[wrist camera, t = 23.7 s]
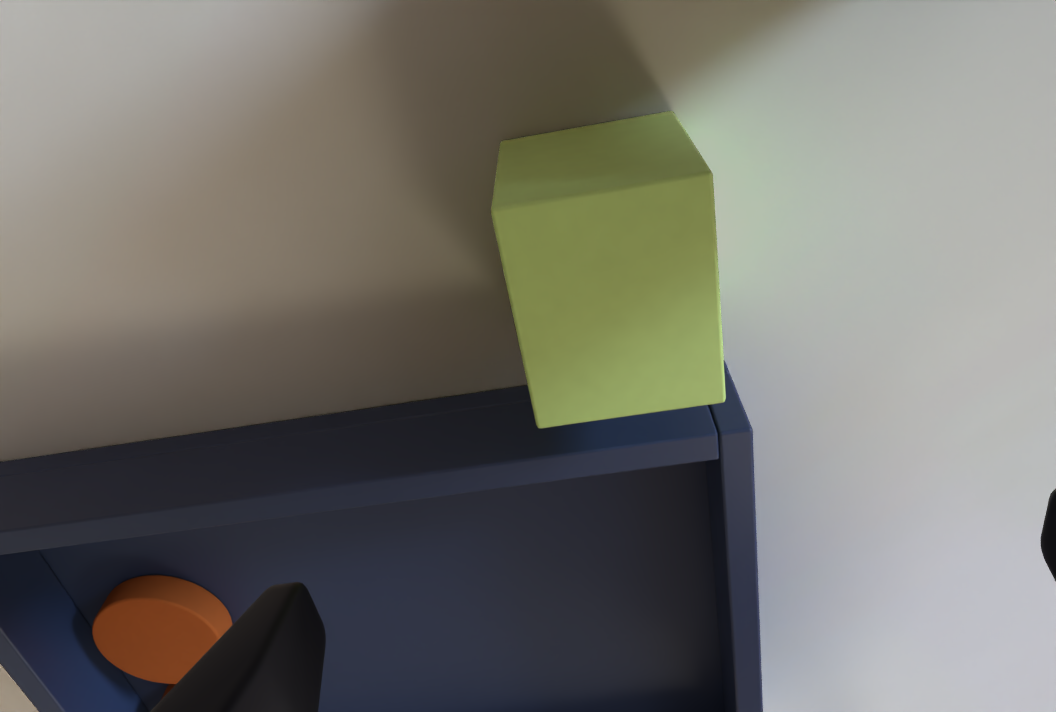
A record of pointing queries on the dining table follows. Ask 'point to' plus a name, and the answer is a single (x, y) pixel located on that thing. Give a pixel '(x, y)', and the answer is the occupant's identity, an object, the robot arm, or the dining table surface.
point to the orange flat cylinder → (158, 626)
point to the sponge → (611, 269)
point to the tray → (414, 554)
